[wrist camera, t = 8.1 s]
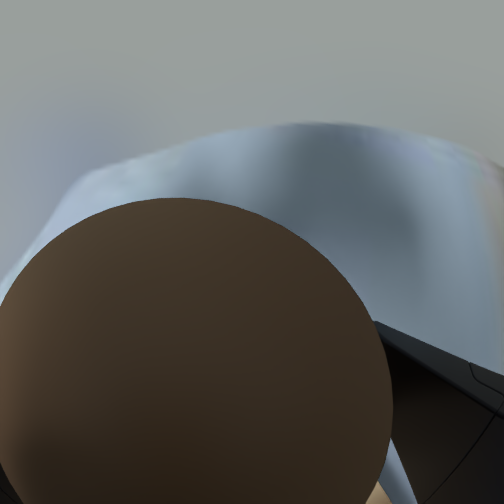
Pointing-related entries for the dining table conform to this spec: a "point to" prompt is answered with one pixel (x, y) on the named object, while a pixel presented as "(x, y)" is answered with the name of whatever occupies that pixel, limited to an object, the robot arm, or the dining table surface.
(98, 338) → the stool leg
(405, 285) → the dining table surface
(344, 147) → the dining table surface
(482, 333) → the dining table surface
